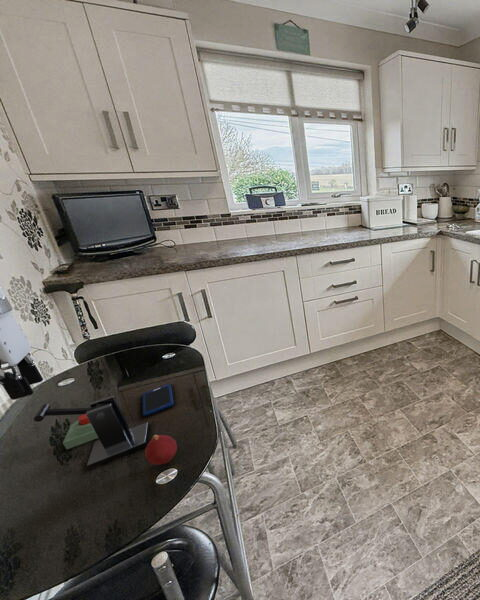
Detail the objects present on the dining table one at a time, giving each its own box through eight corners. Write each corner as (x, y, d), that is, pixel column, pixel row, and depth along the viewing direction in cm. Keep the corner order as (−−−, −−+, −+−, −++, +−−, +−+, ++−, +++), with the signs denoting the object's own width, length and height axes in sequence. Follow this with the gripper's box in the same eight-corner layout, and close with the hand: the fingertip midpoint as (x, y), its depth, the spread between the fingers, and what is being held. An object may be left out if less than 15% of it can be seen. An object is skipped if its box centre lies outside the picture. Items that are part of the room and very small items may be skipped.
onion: (151, 462, 75) (137, 435, 72) (179, 448, 78) (168, 421, 76) (153, 477, 71) (139, 449, 68) (183, 462, 74) (171, 434, 71)
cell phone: (171, 385, 105) (170, 383, 105) (174, 405, 95) (173, 403, 94) (143, 395, 101) (142, 393, 101) (143, 417, 91) (142, 415, 90)
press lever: (32, 424, 69) (34, 413, 69) (40, 411, 73) (42, 401, 73) (108, 420, 76) (110, 410, 76) (111, 409, 80) (113, 400, 80)
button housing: (66, 449, 82) (59, 437, 80) (74, 431, 88) (68, 419, 87) (116, 431, 87) (110, 419, 85) (120, 415, 93) (115, 403, 92)
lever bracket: (88, 469, 75) (63, 425, 70) (96, 445, 82) (74, 404, 78) (146, 446, 80) (126, 404, 76) (149, 425, 87) (131, 386, 83)
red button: (79, 427, 84) (76, 422, 83) (82, 419, 87) (79, 414, 86) (97, 421, 85) (94, 415, 85) (99, 413, 88) (96, 408, 88)
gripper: (-25, 305, 68) (19, 378, 74) (-77, 332, 54) (-17, 419, 61) (25, 295, 71) (63, 366, 78) (-11, 318, 58) (38, 402, 64)
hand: (28, 389), depth 69 cm, fingers open, 5 cm apart
